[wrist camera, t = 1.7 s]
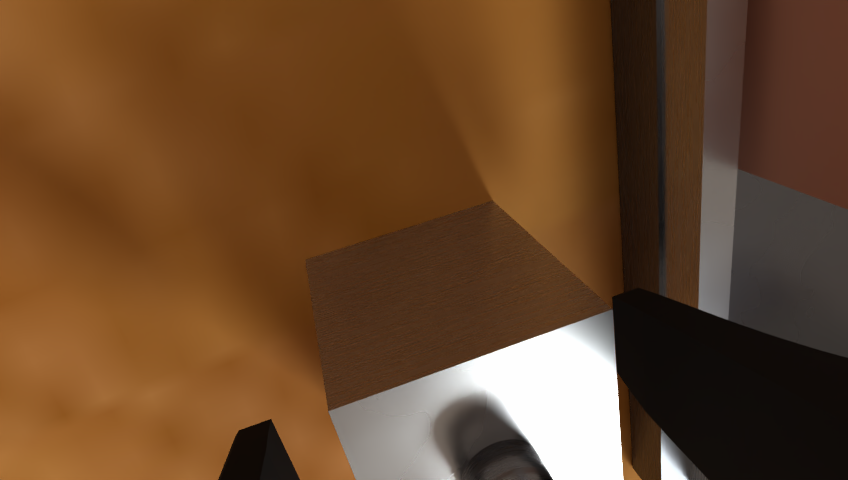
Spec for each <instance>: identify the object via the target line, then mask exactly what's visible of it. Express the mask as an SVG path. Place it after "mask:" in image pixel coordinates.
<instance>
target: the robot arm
mask: <svg viewBox="0 0 848 480" xmlns="http://www.w3.org/2000/svg"><path fill="white" fill-rule="evenodd" d="M612 299H613V316H614V333H615V350H616V368H617V373H618V374H619V375H620V377H621V378H622V380H623V381H624V383H625V384H626V386H627V387H628V388H629V390H630V391H631V393H632V394H633V395H634V397H635V398H636V400H637V401H638V402H639V404H640V405H641V406H642V408H643V409H644V410H645V412H646V413H647V414H648V415H649V416H650V417H651V418H652V419H653V421H654V422H655V423H656V424H657V425H658V426H659V427H660V428H661V429H662V430H663V431H664V433H665V434H666V435H667V436H668V437H669V438H670V439H671V440H672V441H673V442H674V443H675V445H676V446H677V447H678V448H679V449H680V450H681V451H682V452H683V453H684V454H685V455H686V456H687V457H688V458H689V459H690V461H691V462H692V463H693V464H694V465H695V466H696V467H697V468H698V469H699V470H700V471H701V472H702V473H703V474H704V476H705V477H706V478H707V479H708V480H848V358H847V357H843V356H839V355H836V354H832V353H828V352H825V351H821V350H818V349H814V348H811V347H808V346H805V345H801V344H798V343H795V342H792V341H788V340H785V339H782V338H779V337H776V336H773V335H770V334H767V333H764V332H761V331H758V330H755V329H752V328H749V327H746V326H743V325H740V324H738V323H735V322H732V321H729V320H726V319H724V318H721V317H718V316H716V315H713V314H710V313H707V312H705V311H702V310H699V309H697V308H694V307H691V306H689V305H686V304H683V303H681V302H678V301H675V300H673V299H670V298H667V297H665V296H662V295H659V294H656V293H653V292H650V291H647V290H644V289H641V288H636V289H633V290H630V291H628V292H625V293H622V294H619V295H616V296H614V297H612ZM218 480H300V479H299V477H298V475H297V473H296V471H295V468H294V466H293V464H292V462H291V460H290V458H289V456H288V454H287V452H286V450H285V447H284V445H283V443H282V441H281V439H280V437H279V435H278V433H277V431H276V429H275V427H274V424H273V422H272V420H271V419H270V420H267V421H264V422H261V423H259V424H256V425H253V426H250V427H247V428H245V429H242V430H239V431H238V433H237V435H236V437H235V439H234V441H233V444H232V446H231V449H230V452H229V454H228V457H227V459H226V462H225V464H224V467H223V469H222V472H221V474H220V477H219V479H218Z"/></svg>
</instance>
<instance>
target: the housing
mask: <svg viewBox="0 0 848 480" xmlns="http://www.w3.org/2000/svg"><path fill="white" fill-rule="evenodd" d="M305 262H306V268H307V275H308V281H309V288H310V294H311V301H312V307H313V314H314V321H315V327H316V334H317V340H318V347H319V353H320V360H321V367H322V373H323V380H324V386H325V393H326V399H327V406H328V412H329V414H330V417H331V419H332V422H333V424H334V427H335V429H336V432H337V434H338V437H339V439H340V441H341V444H342V446H343V449H344V451H345V454H346V456H347V459H348V461H349V464H350V466H351V469H352V471H353V474H354V476H355V479H356V480H623V471H622V454H621V438H620V421H619V405H618V388H617V372H616V355H615V339H614V323H613V309H612V308H611V307H610V306H608V305H607V304H606V303H605V302H604V301H603V300H602V299H601V298H600V297H599V296H597V295H596V294H595V293H594V292H593V291H592V290H591V289H590V288H589V287H588V286H586V285H585V284H584V283H583V282H582V281H581V280H580V279H579V278H578V277H576V276H575V275H574V274H573V273H572V272H571V271H570V270H569V269H568V268H567V267H565V266H564V265H563V264H562V263H561V262H560V261H559V260H558V259H557V258H556V257H554V256H553V255H552V254H551V253H550V252H549V251H548V250H547V249H546V248H545V247H543V246H542V245H541V244H540V243H539V242H538V241H537V240H536V239H535V238H533V237H532V236H531V235H530V234H529V233H528V232H527V231H526V230H525V229H524V228H522V227H521V226H520V225H519V224H518V223H517V222H516V221H515V220H514V219H513V218H511V217H510V216H509V215H508V214H507V213H506V212H505V211H504V210H503V209H501V208H500V207H499V206H498V205H497V204H496V203H495V202H494V201H490V202H487V203H484V204H481V205H478V206H474V207H471V208H468V209H465V210H462V211H459V212H455V213H452V214H449V215H446V216H443V217H440V218H436V219H433V220H430V221H427V222H424V223H421V224H417V225H414V226H411V227H408V228H405V229H402V230H398V231H395V232H392V233H389V234H386V235H383V236H379V237H376V238H373V239H370V240H367V241H364V242H360V243H357V244H354V245H351V246H348V247H345V248H341V249H338V250H335V251H332V252H329V253H326V254H322V255H319V256H316V257H313V258H310V259H307V260H305Z"/></svg>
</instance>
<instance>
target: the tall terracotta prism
mask: <svg viewBox="0 0 848 480" xmlns="http://www.w3.org/2000/svg"><path fill="white" fill-rule="evenodd" d="M738 169H740V170H742V171H745V172H748V173H750V174H753V175H756V176H758V177H761V178H764V179H767V180H769V181H772V182H775V183H777V184H780V185H783V186H785V187H788V188H791V189H794V190H796V191H799V192H802V193H804V194H807V195H810V196H812V197H815V198H818V199H821V200H823V201H826V202H829V203H831V204H834V205H837V206H839V207H842V208H845V209H848V0H748V9H747V25H746V41H745V57H744V73H743V89H742V105H741V122H740V138H739V154H738Z"/></svg>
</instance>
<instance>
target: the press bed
mask: <svg viewBox="0 0 848 480" xmlns="http://www.w3.org/2000/svg"><path fill="white" fill-rule="evenodd" d="M747 9H748V0H611V20H612V41H613V62H614V83H615V104H616V125H617V146H618V167H619V188H620V209H621V230H622V252H623V273H624V293H625V292H628V291H630V290H633V289H636V288H641V289H644V290H647V291H650V292H653V293H656V294H659V295H662V296H665V297H667V298H670V299H673V300H675V301H678V302H681V303H683V304H686V305H689V306H691V307H694V308H697V309H699V310H702V311H705V312H707V313H710V314H713V315H716V316H718V317H721V318H724V319H726V320H729V321H732V322H735V323H738V324H740V325H743V326H746V327H749V328H752V329H755V330H758V331H761V332H764V333H767V334H770V335H773V336H776V337H779V338H782V339H785V340H788V341H792V342H795V343H798V344H801V345H805V346H808V347H811V348H814V349H818V350H821V351H825V352H828V353H832V354H836V355H839V356H843V357H847V358H848V209H845V208H842V207H839V206H837V205H834V204H831V203H829V202H826V201H823V200H821V199H818V198H815V197H812V196H810V195H807V194H804V193H802V192H799V191H796V190H794V189H791V188H788V187H785V186H783V185H780V184H777V183H775V182H772V181H769V180H767V179H764V178H761V177H758V176H756V175H753V174H750V173H748V172H745V171H742V170H740V169H738V154H739V138H740V122H741V105H742V89H743V73H744V57H745V41H746V25H747ZM629 399H630V420H631V441H632V462H633V469H634V470H635V471H636V473H637V474H638V475H639V477H640V478H641V479H642V480H708V479H707V478H706V477H705V476H704V474H703V473H702V472H701V471H700V470H699V469H698V468H697V467H696V466H695V465H694V464H693V463H692V462H691V461H690V459H689V458H688V457H687V456H686V455H685V454H684V453H683V452H682V451H681V450H680V449H679V448H678V447H677V446H676V445H675V443H674V442H673V441H672V440H671V439H670V438H669V437H668V436H667V435H666V434H665V433H664V431H663V430H662V429H661V428H660V427H659V426H658V425H657V424H656V423H655V422H654V421H653V419H652V418H651V417H650V416H649V415H648V414H647V413H646V412H645V410H644V409H643V408H642V406H641V405H640V404H639V402H638V401H637V400H636V398H635V397H634V395H633V394H632V393H631V391H630V390H629Z"/></svg>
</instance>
